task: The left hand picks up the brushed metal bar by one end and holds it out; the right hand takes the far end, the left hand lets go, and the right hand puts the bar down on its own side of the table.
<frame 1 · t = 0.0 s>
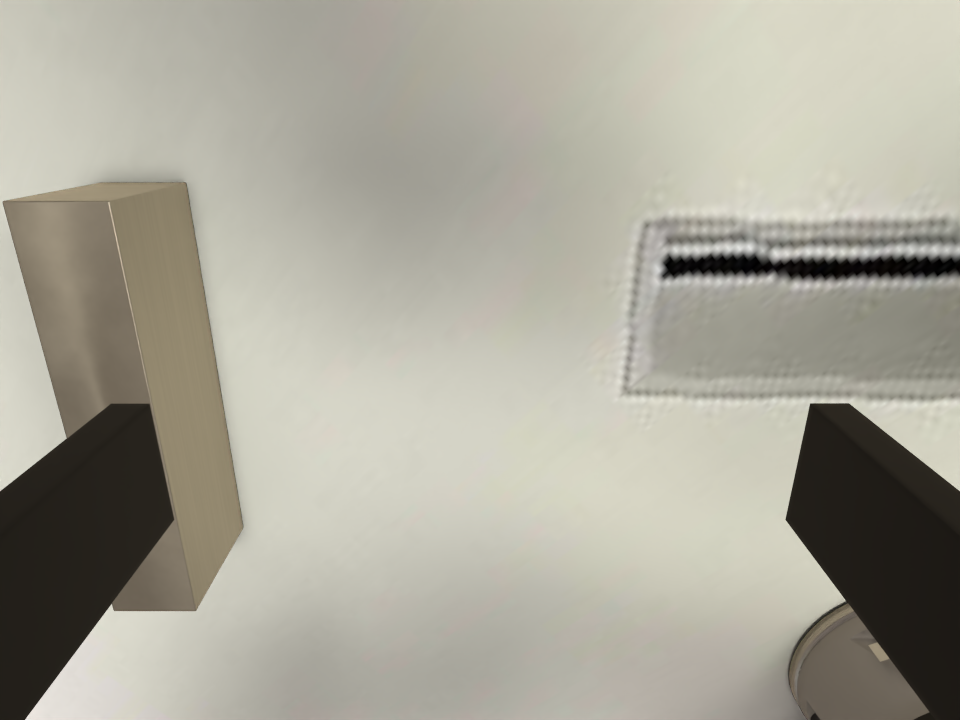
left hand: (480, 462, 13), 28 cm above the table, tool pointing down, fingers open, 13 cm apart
bar: (180, 373, 42), on the table
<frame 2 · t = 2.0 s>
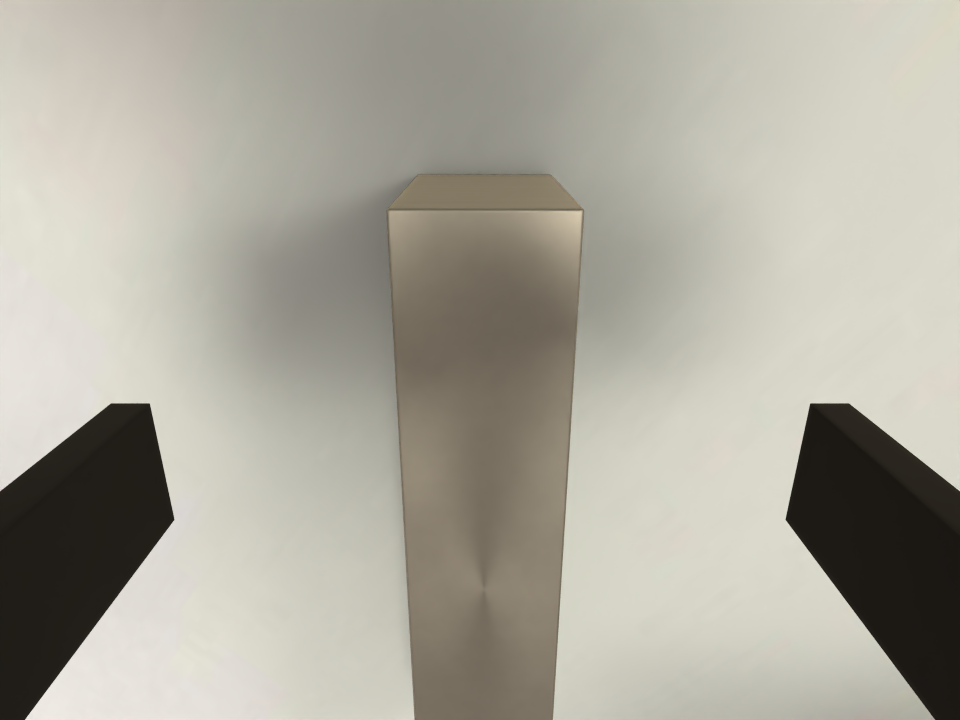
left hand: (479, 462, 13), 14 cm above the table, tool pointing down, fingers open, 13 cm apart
bar: (483, 456, 29), on the table
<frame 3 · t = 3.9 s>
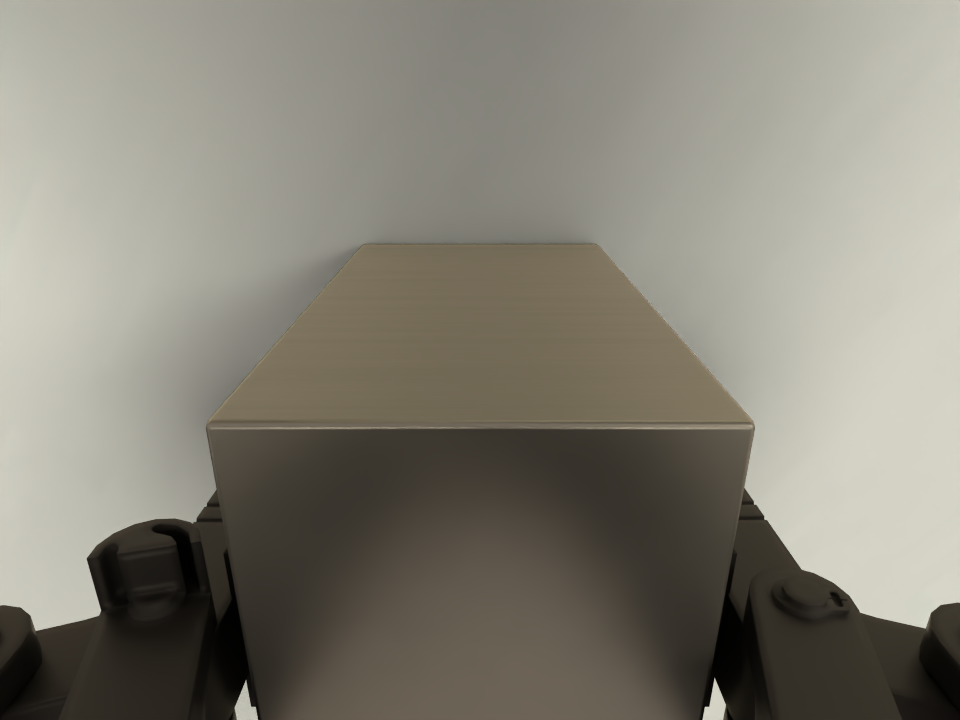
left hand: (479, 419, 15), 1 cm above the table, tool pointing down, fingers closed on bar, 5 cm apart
bar: (480, 672, 18), on the table, touching left hand
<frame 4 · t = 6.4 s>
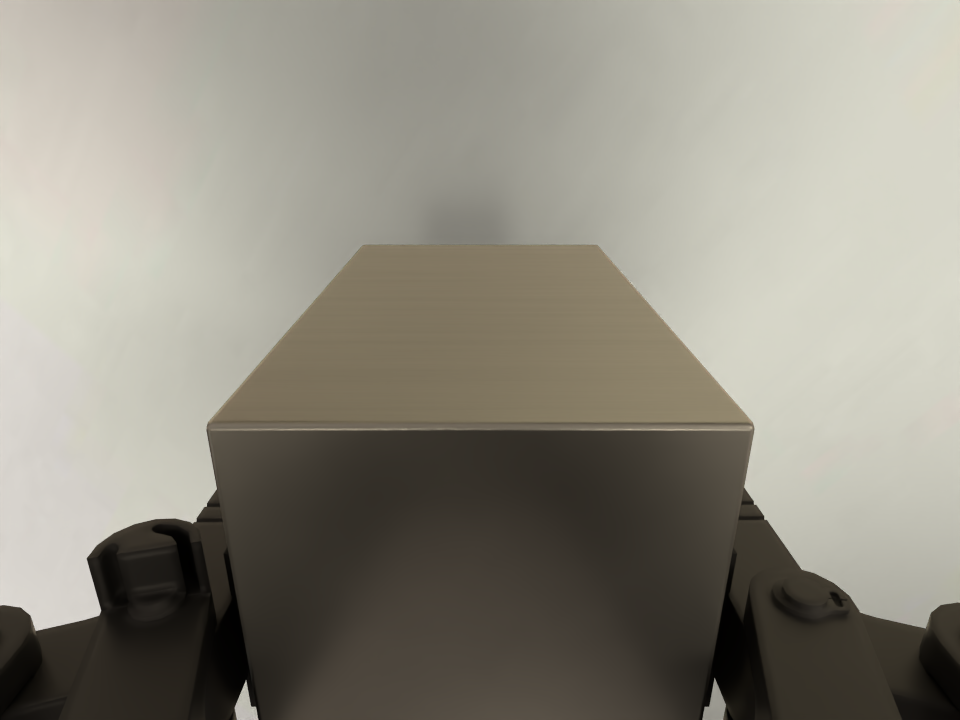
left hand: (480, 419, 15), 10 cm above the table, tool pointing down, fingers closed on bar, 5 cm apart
bar: (480, 673, 18), point 10 cm above the table, touching left hand
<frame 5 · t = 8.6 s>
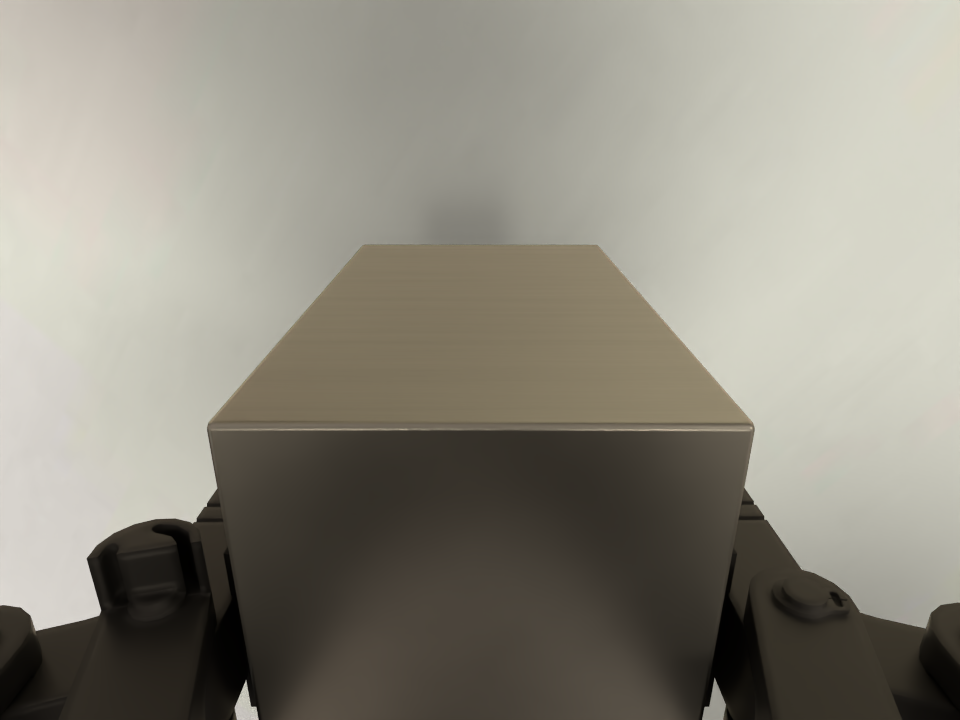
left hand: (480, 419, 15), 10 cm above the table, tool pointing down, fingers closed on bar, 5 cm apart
bar: (479, 672, 18), point 10 cm above the table, touching left hand, right hand
when the left hand's fingers open (10 cm above the table, at t = 9.2 s): bar stays where it is, held by the right hand.
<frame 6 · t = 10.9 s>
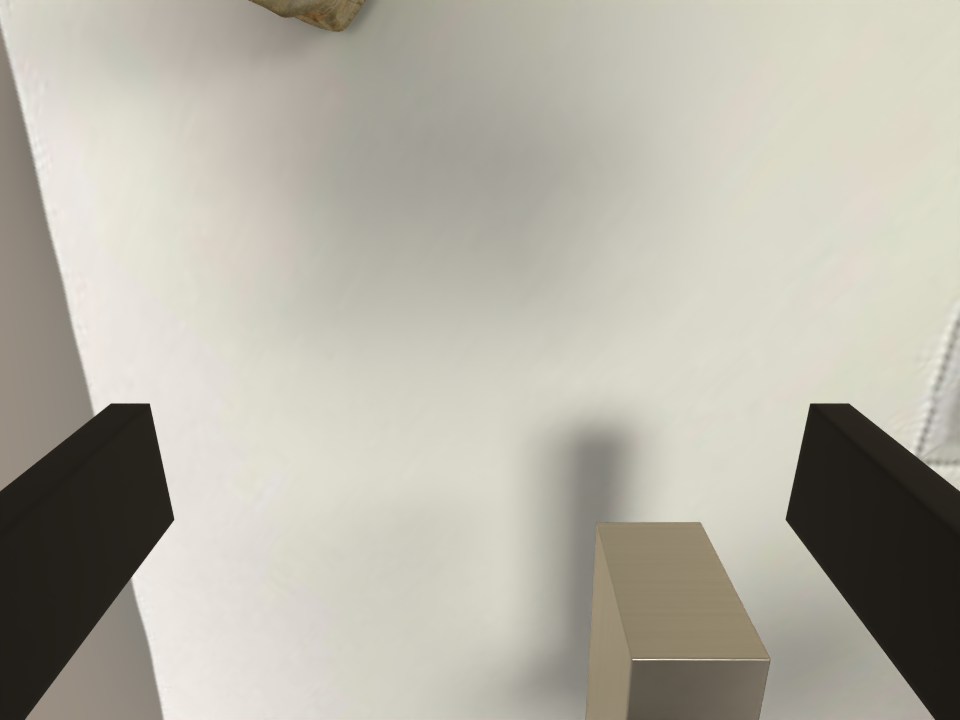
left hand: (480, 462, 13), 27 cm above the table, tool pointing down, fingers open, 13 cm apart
bar: (631, 706, 36), point 12 cm above the table, touching right hand
when the right hand's fingers open (2 cm above the table, at t = 13.3 s): bar drops 1 cm, on the table.
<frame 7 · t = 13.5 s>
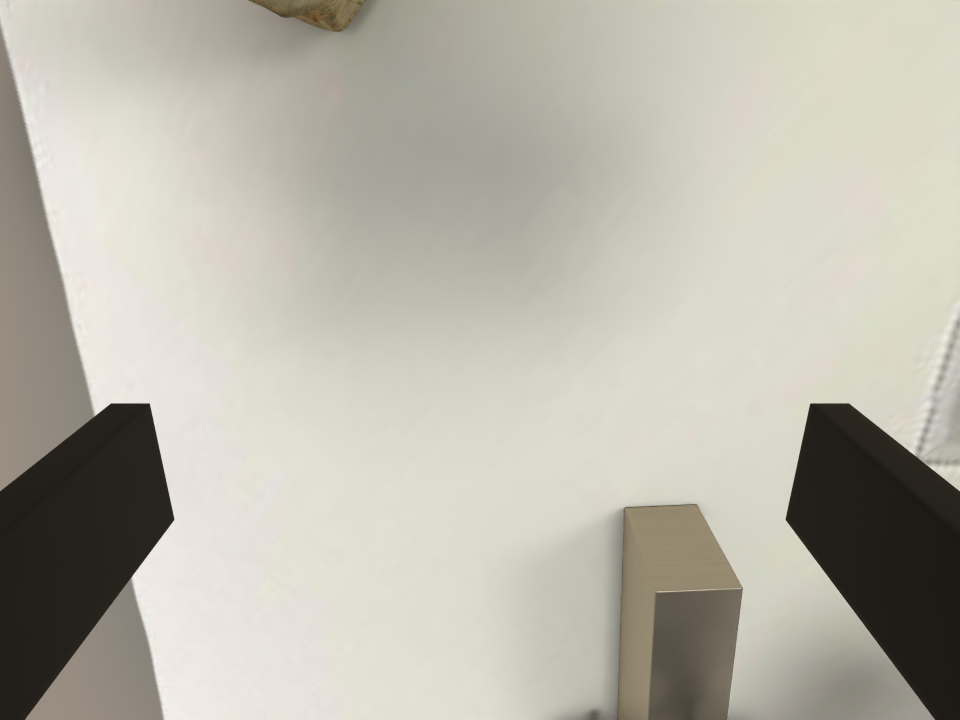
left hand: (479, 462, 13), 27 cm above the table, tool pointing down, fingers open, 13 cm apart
bar: (652, 640, 49), on the table
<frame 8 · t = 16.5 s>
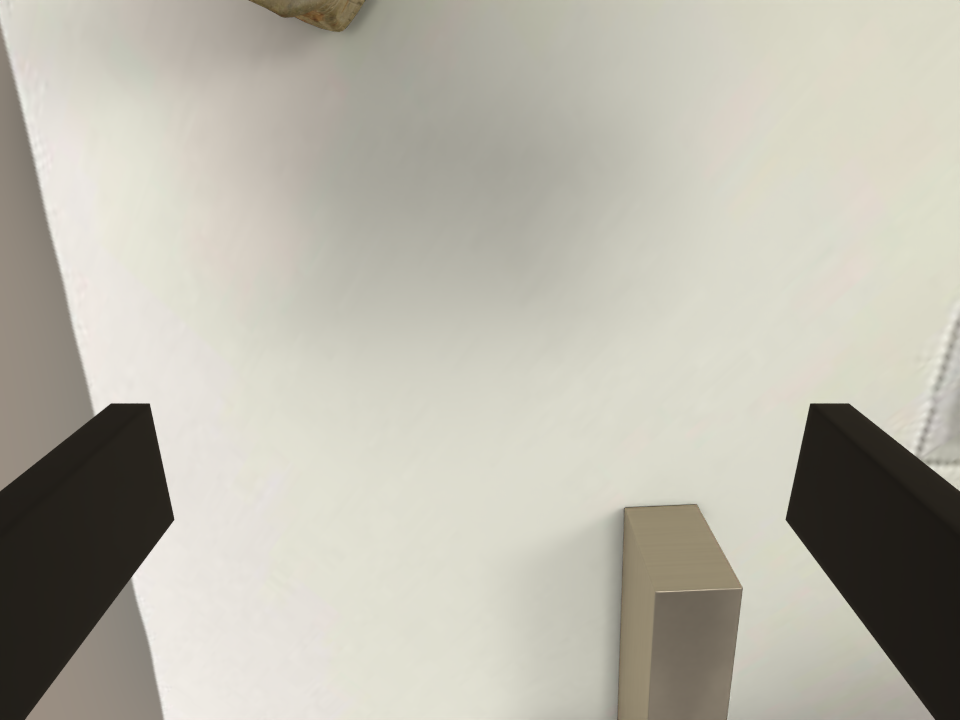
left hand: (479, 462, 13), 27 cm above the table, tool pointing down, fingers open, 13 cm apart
bar: (652, 640, 49), on the table
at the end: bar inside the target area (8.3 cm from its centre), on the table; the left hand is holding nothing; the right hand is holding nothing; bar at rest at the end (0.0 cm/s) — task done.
